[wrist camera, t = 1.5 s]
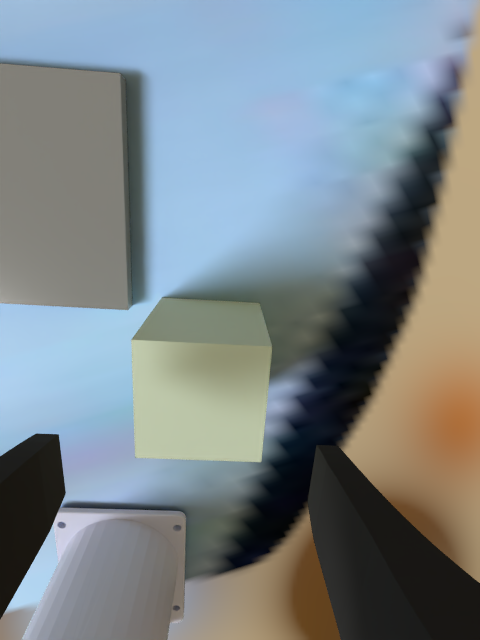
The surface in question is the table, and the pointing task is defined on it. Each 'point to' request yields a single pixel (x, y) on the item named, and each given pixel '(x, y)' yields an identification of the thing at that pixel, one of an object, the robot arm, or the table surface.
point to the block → (201, 381)
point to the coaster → (64, 188)
